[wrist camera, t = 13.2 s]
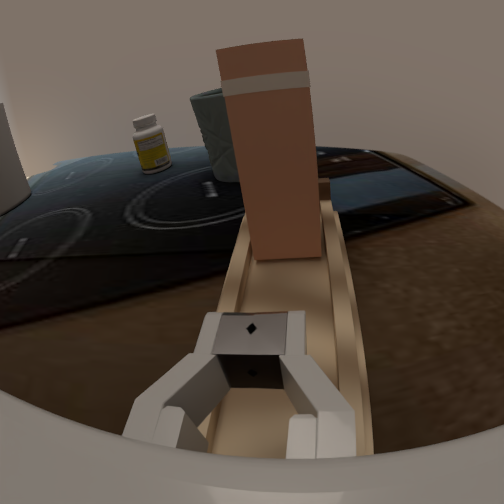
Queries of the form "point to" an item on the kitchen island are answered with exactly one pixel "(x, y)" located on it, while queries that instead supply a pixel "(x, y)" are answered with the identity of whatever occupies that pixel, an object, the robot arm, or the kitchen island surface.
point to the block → (274, 145)
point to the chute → (317, 330)
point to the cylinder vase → (10, 170)
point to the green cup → (216, 133)
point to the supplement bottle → (151, 145)
